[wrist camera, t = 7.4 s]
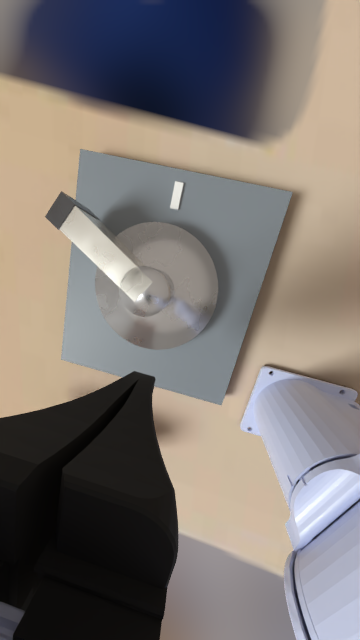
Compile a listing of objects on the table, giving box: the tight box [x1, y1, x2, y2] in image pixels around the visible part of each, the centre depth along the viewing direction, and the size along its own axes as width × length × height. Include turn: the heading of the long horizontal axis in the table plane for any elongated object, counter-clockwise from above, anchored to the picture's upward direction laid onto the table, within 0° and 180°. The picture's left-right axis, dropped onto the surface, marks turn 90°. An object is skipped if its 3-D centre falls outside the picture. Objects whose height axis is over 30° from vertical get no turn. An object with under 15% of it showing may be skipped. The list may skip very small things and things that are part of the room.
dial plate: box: [61, 149, 293, 405], centre depth 18 cm, size 18×20×2 cm
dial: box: [45, 191, 218, 350], centre depth 15 cm, size 11×14×4 cm
